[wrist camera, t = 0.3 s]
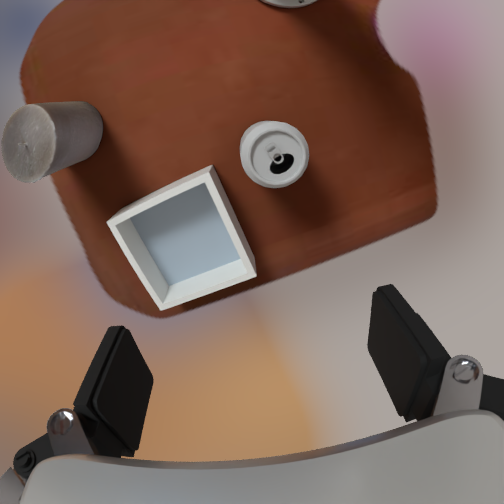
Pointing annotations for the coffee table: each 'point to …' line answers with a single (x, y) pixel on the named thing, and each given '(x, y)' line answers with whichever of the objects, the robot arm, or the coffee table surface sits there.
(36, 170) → the pillar candle
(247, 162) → the can
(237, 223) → the walled box
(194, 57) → the coffee table surface
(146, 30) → the coffee table surface
